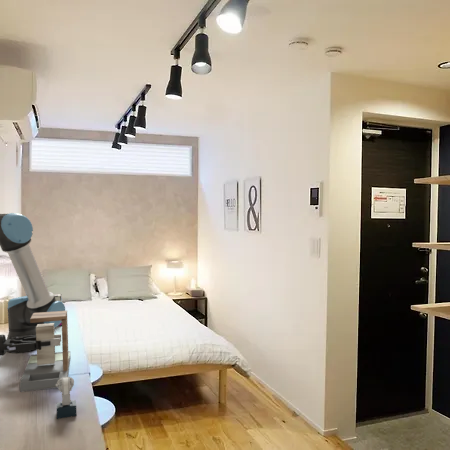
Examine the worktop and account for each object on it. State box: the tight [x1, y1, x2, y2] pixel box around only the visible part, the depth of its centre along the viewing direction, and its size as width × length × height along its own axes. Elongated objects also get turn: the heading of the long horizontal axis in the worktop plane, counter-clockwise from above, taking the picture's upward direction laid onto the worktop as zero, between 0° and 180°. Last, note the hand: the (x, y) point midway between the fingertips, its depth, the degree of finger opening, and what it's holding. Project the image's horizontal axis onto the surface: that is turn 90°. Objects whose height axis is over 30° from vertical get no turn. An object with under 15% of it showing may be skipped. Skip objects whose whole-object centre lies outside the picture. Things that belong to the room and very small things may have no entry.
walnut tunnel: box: [30, 310, 69, 371], centre depth 174 cm, size 10×12×20 cm
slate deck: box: [19, 350, 71, 393], centre depth 178 cm, size 33×15×3 cm, turn 16°
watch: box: [56, 376, 77, 420], centre depth 141 cm, size 6×8×11 cm
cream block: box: [36, 323, 56, 365], centre depth 177 cm, size 5×6×14 cm
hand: (60, 339), depth 178 cm, fingers closed on cream block, 5 cm apart
